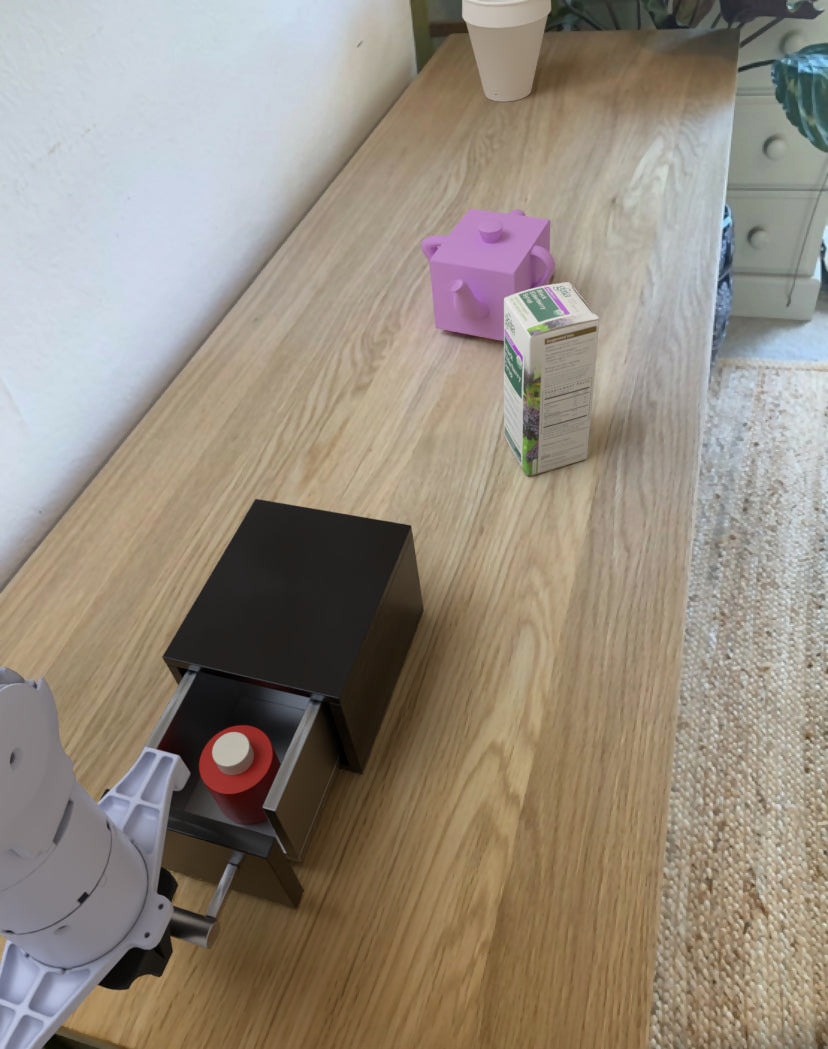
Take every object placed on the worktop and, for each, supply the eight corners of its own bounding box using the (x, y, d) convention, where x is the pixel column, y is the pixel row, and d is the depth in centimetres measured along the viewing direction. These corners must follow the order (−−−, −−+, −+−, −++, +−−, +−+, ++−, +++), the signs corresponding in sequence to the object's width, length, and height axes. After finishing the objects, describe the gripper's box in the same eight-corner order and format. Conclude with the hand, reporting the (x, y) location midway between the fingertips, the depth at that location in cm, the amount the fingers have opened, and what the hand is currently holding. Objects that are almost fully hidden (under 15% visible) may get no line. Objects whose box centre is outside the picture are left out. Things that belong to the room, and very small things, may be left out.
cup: (543, 109, 121) (545, 1, 111) (458, 109, 123) (452, 4, 113) (554, 74, 128) (557, -30, 118) (474, 75, 131) (470, -27, 121)
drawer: (267, 987, 47) (231, 943, 41) (105, 932, 50) (50, 883, 44) (369, 722, 57) (351, 657, 51) (230, 689, 60) (199, 624, 54)
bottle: (270, 833, 51) (248, 793, 47) (206, 814, 53) (179, 773, 49) (298, 767, 54) (280, 724, 50) (236, 750, 55) (213, 707, 51)
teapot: (518, 383, 81) (517, 290, 73) (387, 356, 85) (374, 266, 78) (577, 281, 91) (582, 191, 84) (457, 262, 96) (452, 175, 88)
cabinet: (362, 775, 56) (339, 698, 48) (205, 734, 59) (161, 657, 52) (424, 610, 64) (411, 524, 57) (283, 582, 67) (255, 498, 60)
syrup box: (501, 437, 76) (498, 295, 65) (563, 419, 77) (570, 276, 66) (526, 479, 72) (527, 336, 61) (591, 459, 73) (602, 315, 62)
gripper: (17, 1099, 29) (148, 1150, 39) (209, 724, 38) (276, 844, 48) (-145, 1032, 31) (20, 1096, 41) (75, 690, 40) (166, 812, 50)
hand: (150, 958), depth 44 cm, fingers closed
